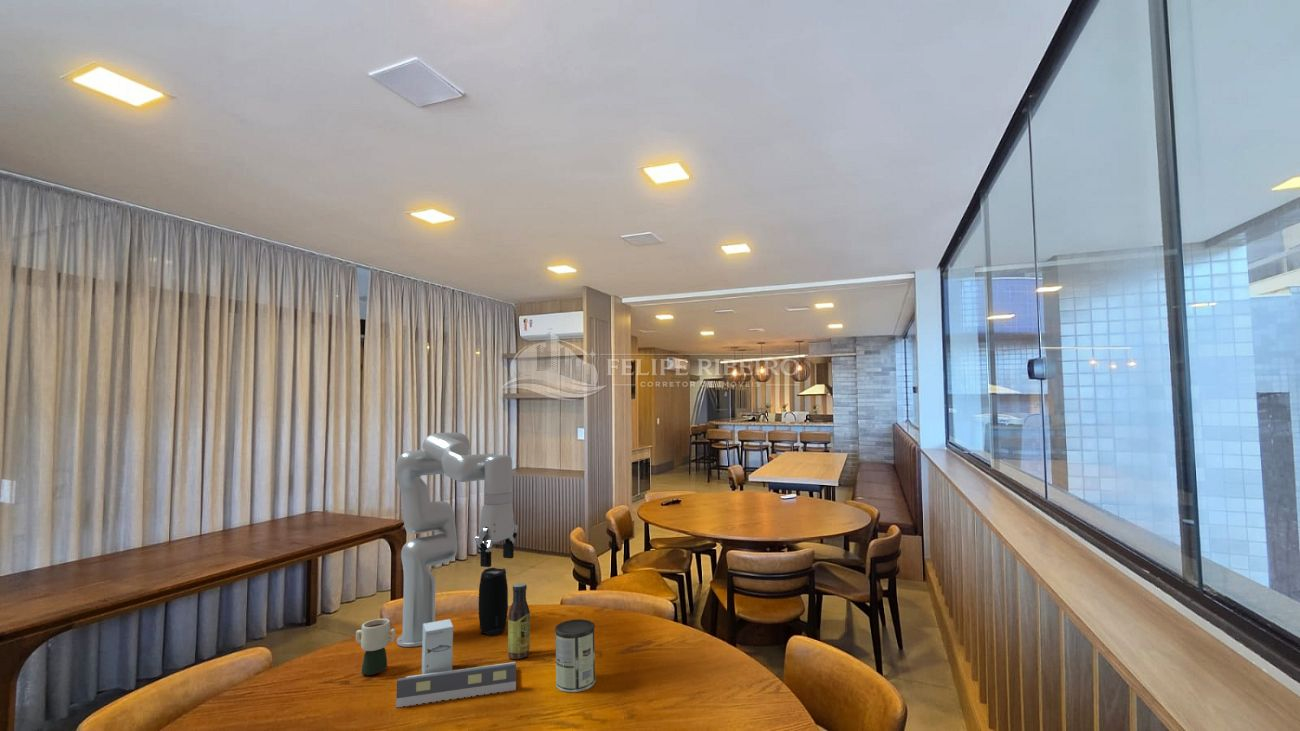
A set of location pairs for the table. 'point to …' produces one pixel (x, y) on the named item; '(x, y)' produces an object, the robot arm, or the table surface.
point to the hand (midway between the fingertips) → (497, 562)
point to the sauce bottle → (519, 624)
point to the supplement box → (437, 647)
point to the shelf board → (455, 692)
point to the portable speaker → (493, 601)
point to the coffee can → (575, 655)
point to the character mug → (375, 644)
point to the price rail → (455, 680)
